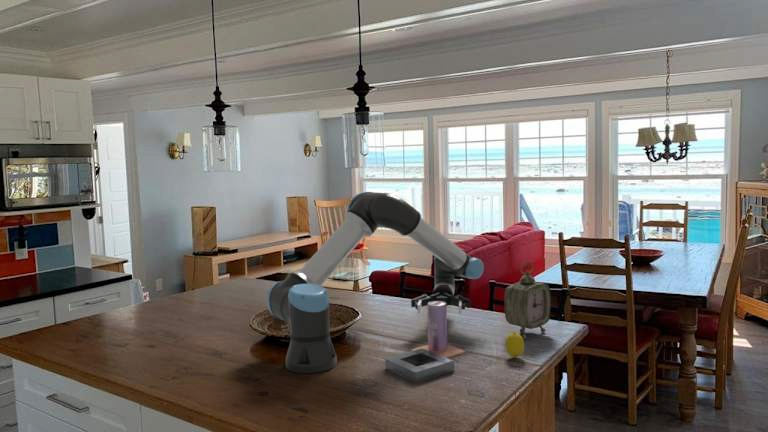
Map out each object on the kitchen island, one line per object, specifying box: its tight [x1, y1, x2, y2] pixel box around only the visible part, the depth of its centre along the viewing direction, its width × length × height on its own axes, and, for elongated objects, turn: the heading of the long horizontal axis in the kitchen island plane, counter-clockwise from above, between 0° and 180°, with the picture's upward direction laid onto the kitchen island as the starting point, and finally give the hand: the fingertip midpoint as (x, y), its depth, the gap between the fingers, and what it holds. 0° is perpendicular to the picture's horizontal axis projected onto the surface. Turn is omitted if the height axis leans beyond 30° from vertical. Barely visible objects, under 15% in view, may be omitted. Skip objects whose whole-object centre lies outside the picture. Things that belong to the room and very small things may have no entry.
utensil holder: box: [271, 315, 290, 331], centre depth 196 cm, size 6×6×12 cm
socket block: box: [384, 348, 455, 384], centre depth 159 cm, size 14×14×3 cm
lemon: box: [504, 331, 525, 359], centre depth 166 cm, size 6×6×8 cm
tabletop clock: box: [504, 261, 552, 340], centre depth 188 cm, size 14×9×25 cm, turn 129°
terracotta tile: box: [410, 344, 466, 359], centre depth 174 cm, size 12×12×1 cm
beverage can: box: [426, 301, 448, 353], centre depth 173 cm, size 6×6×15 cm
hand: (439, 309), depth 182 cm, fingers open, 13 cm apart
